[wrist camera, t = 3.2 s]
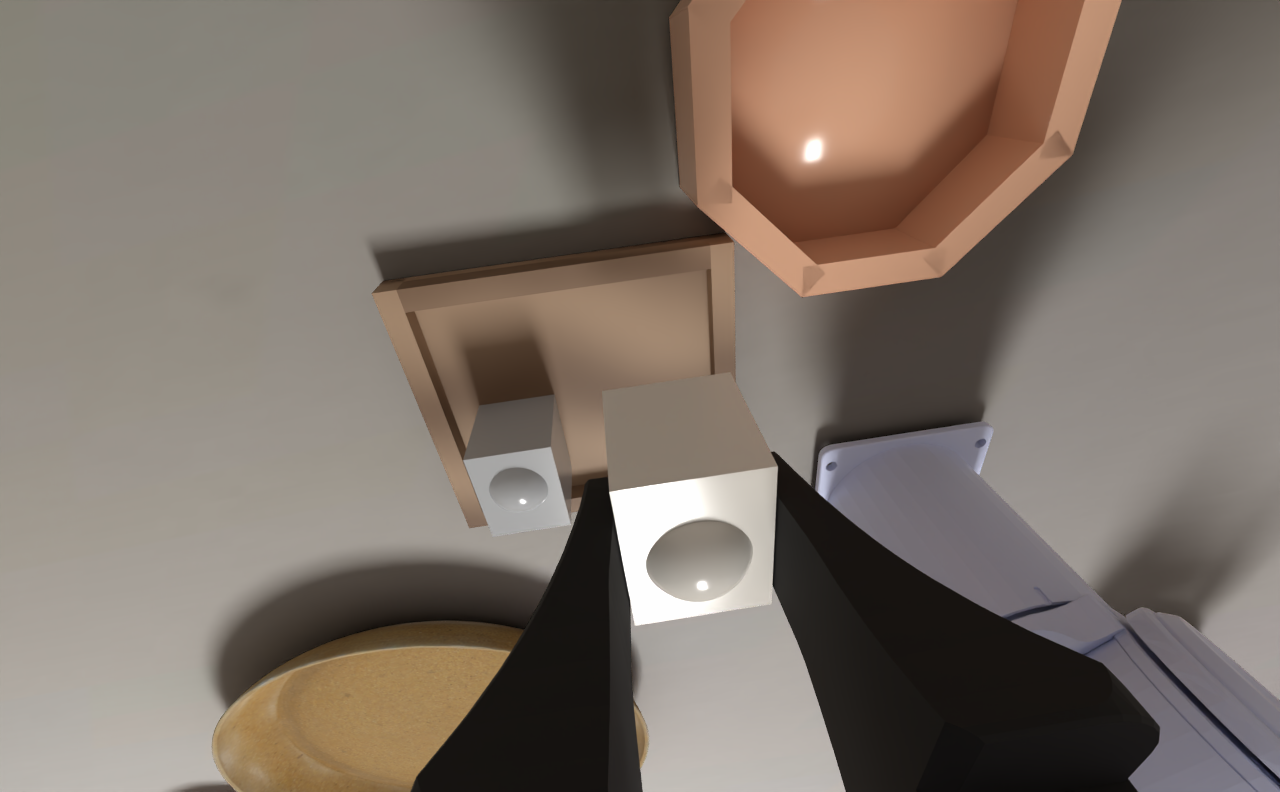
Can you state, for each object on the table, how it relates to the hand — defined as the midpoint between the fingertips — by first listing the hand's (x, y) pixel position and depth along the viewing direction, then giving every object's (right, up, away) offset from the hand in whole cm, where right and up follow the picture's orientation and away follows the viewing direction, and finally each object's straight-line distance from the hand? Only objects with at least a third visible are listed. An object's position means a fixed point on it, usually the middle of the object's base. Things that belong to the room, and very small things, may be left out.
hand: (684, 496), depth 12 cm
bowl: (+5, +12, +4) cm, 14 cm away
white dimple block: (0, +1, +1) cm, 2 cm away
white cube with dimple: (-6, +1, +9) cm, 11 cm away
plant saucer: (-13, -18, +21) cm, 30 cm away
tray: (-3, +3, +8) cm, 10 cm away
